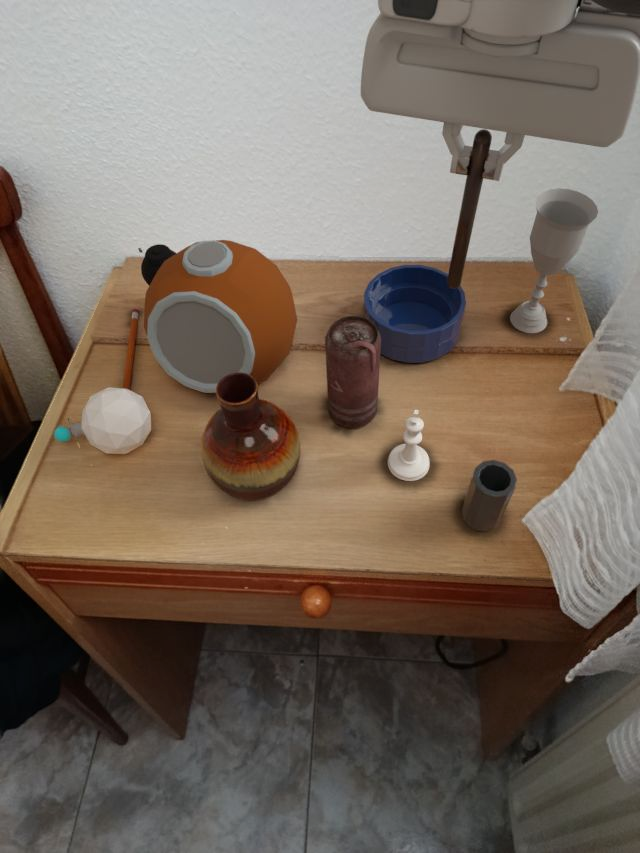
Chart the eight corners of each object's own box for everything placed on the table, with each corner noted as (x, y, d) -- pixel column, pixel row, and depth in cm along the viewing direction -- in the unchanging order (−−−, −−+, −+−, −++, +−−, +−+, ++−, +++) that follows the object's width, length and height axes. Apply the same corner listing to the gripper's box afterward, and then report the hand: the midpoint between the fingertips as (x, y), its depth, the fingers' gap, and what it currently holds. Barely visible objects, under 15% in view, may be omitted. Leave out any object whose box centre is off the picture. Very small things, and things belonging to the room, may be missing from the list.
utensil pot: (503, 504, 67) (519, 466, 60) (496, 536, 65) (512, 501, 58) (466, 493, 68) (478, 455, 61) (457, 525, 66) (469, 489, 59)
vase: (223, 426, 75) (198, 341, 62) (310, 437, 73) (302, 351, 61) (198, 504, 68) (164, 426, 56) (293, 517, 67) (279, 440, 54)
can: (360, 439, 73) (362, 363, 61) (318, 415, 75) (313, 337, 64) (387, 407, 75) (394, 328, 64) (347, 384, 78) (346, 305, 66)
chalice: (494, 308, 85) (524, 195, 70) (537, 297, 86) (575, 183, 71) (519, 344, 81) (556, 231, 66) (564, 331, 82) (610, 218, 67)
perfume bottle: (153, 454, 68) (53, 479, 69) (167, 430, 76) (77, 454, 77) (130, 390, 66) (26, 417, 66) (146, 373, 74) (53, 397, 74)
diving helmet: (140, 396, 78) (94, 296, 64) (188, 305, 88) (157, 201, 74) (280, 421, 75) (264, 321, 61) (314, 323, 85) (307, 218, 70)
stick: (460, 284, 62) (494, 127, 48) (457, 293, 61) (491, 136, 47) (447, 281, 62) (477, 124, 48) (444, 290, 61) (474, 133, 48)
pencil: (139, 312, 87) (137, 308, 87) (127, 415, 76) (125, 410, 76) (133, 313, 87) (131, 308, 86) (120, 415, 76) (118, 411, 76)
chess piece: (432, 450, 71) (443, 399, 63) (425, 485, 69) (435, 436, 61) (392, 442, 72) (397, 390, 64) (383, 476, 70) (388, 426, 62)
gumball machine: (204, 295, 89) (189, 239, 81) (190, 323, 86) (173, 267, 78) (162, 289, 90) (143, 233, 82) (147, 317, 87) (126, 261, 79)
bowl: (468, 308, 85) (475, 275, 80) (446, 376, 78) (452, 344, 73) (379, 289, 88) (381, 256, 83) (350, 352, 81) (350, 320, 76)
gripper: (681, -20, 39) (605, 174, 50) (382, -49, 44) (373, 135, 55) (679, 19, 36) (598, 218, 47) (356, -16, 40) (352, 173, 52)
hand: (475, 173), depth 51 cm, fingers closed on stick, 1 cm apart
